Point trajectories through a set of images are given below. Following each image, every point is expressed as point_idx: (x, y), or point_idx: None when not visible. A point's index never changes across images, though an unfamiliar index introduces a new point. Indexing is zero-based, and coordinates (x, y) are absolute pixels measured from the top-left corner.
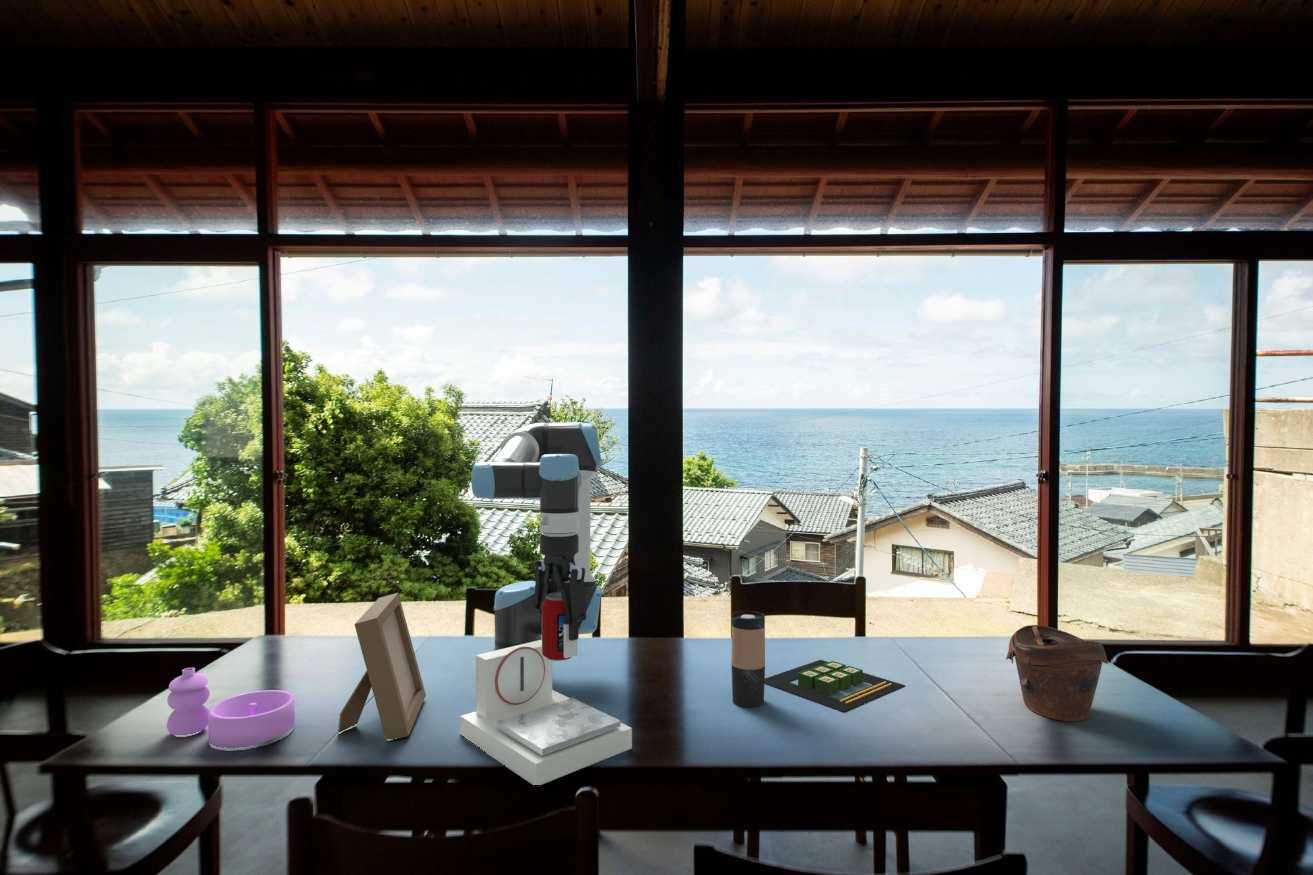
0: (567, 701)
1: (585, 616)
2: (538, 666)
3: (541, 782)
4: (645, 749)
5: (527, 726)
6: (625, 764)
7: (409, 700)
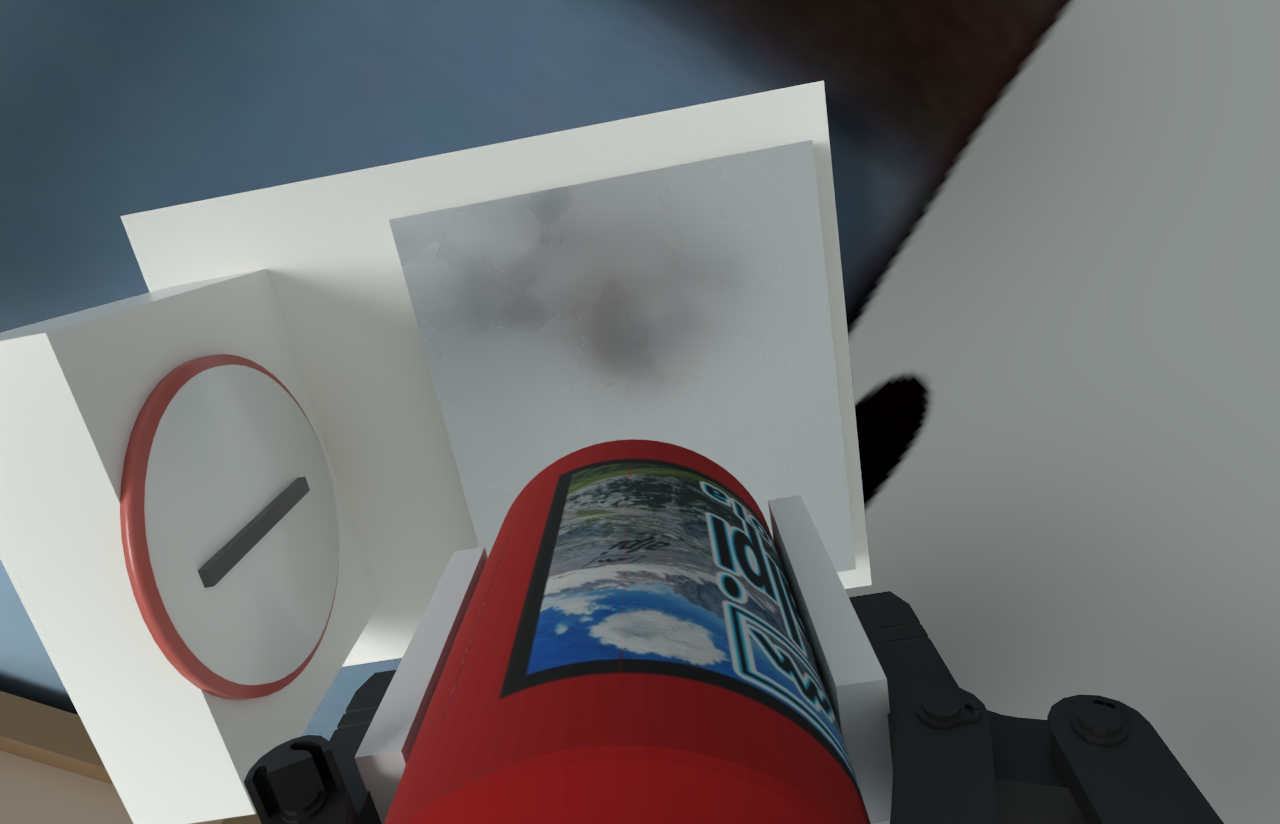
0: (429, 267)
1: (1153, 741)
2: (206, 420)
3: None
4: (848, 37)
5: None
6: (909, 195)
7: (17, 767)
